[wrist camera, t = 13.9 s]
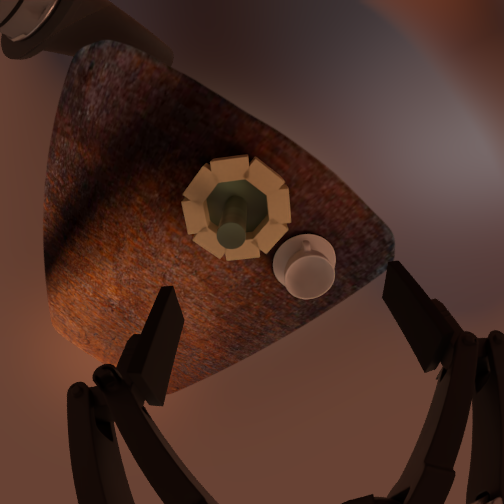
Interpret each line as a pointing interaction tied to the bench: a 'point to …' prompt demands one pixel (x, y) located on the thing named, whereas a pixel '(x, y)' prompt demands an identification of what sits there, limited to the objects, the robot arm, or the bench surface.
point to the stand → (236, 211)
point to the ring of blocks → (232, 171)
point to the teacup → (305, 265)
